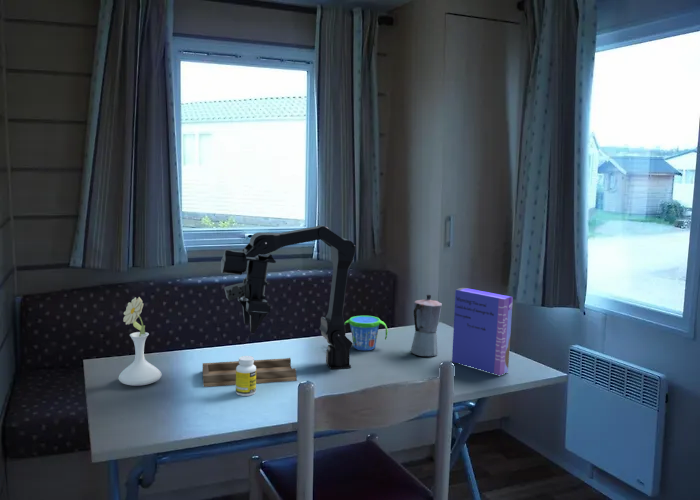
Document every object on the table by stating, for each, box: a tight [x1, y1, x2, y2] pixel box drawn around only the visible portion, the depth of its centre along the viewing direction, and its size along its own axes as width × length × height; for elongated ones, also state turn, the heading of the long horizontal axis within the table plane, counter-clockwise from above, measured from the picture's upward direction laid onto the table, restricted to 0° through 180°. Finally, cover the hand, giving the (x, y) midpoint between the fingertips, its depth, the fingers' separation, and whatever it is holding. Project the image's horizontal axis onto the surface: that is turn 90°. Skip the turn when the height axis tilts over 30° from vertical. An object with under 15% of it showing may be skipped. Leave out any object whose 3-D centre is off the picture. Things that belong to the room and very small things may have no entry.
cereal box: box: [451, 287, 514, 376], centre depth 187 cm, size 17×5×24 cm, turn 45°
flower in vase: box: [118, 296, 162, 387], centre depth 166 cm, size 13×11×25 cm
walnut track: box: [202, 357, 298, 388], centre depth 175 cm, size 26×13×3 cm, turn 105°
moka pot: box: [410, 294, 443, 357], centre depth 199 cm, size 10×15×20 cm, turn 148°
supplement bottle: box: [235, 355, 257, 397], centre depth 162 cm, size 5×5×10 cm
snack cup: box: [344, 315, 389, 351], centre depth 205 cm, size 16×10×10 cm
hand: (249, 328), depth 175 cm, fingers open, 9 cm apart
